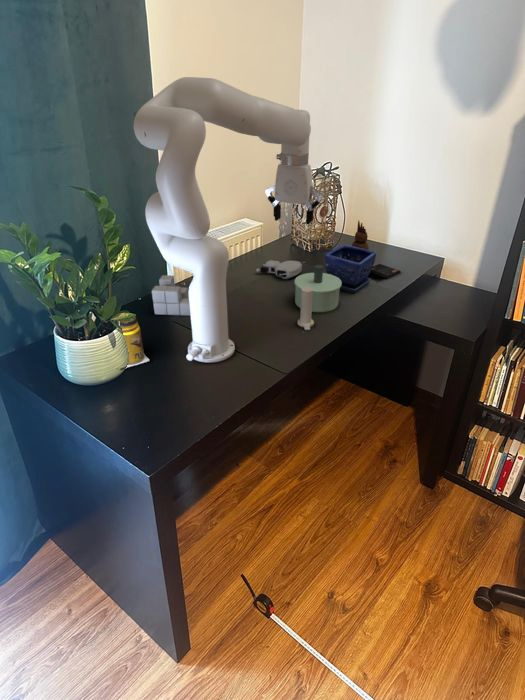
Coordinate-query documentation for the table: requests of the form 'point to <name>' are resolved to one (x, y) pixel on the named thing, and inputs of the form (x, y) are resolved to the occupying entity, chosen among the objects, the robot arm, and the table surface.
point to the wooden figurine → (360, 238)
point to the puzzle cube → (170, 298)
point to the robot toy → (282, 268)
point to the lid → (318, 281)
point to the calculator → (384, 271)
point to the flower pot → (350, 266)
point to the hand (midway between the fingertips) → (293, 221)
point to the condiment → (133, 341)
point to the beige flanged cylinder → (306, 308)
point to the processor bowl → (320, 300)
